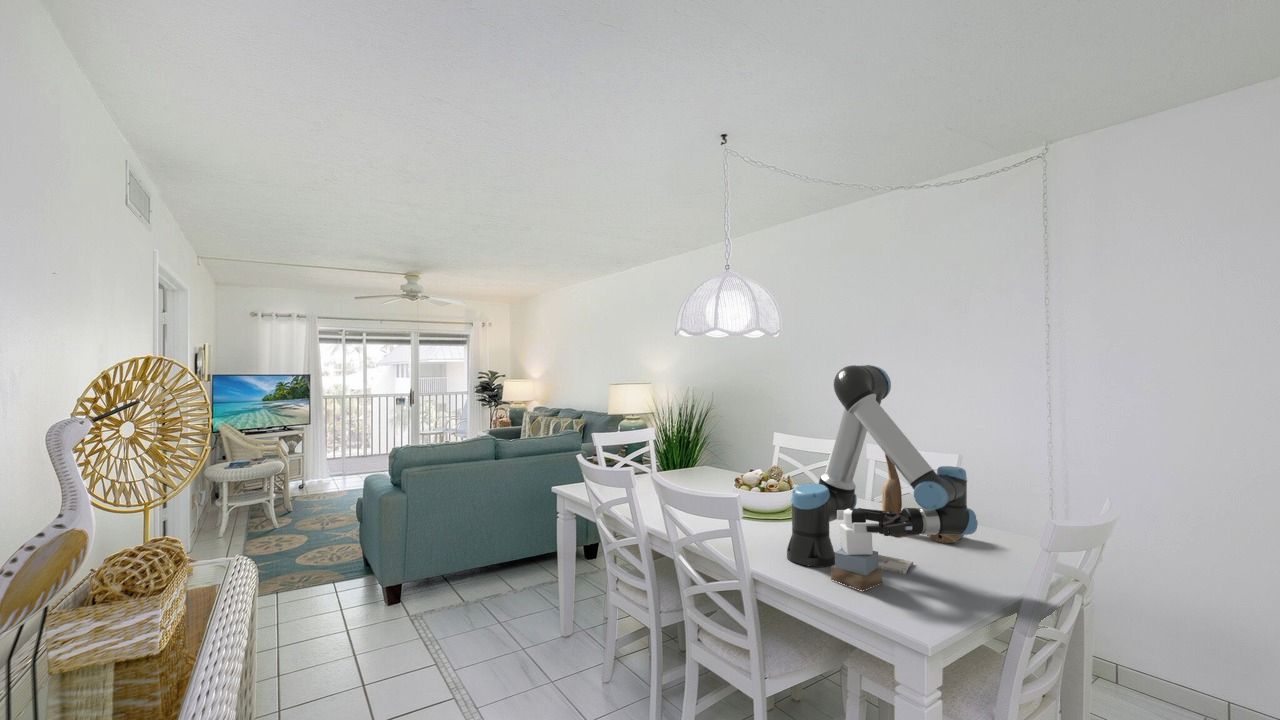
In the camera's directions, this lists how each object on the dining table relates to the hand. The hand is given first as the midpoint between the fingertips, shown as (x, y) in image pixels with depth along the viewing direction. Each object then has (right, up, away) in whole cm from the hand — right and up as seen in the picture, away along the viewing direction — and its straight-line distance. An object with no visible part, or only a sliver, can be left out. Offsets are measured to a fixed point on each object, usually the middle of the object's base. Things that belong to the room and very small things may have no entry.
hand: (845, 521), depth 163 cm
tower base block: (+3, -18, -1) cm, 18 cm away
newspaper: (+15, -18, +17) cm, 29 cm away
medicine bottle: (+3, -9, 0) cm, 9 cm away
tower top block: (+3, -13, 0) cm, 14 cm away
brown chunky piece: (+51, -18, +40) cm, 67 cm away
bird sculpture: (+36, -18, +49) cm, 63 cm away
